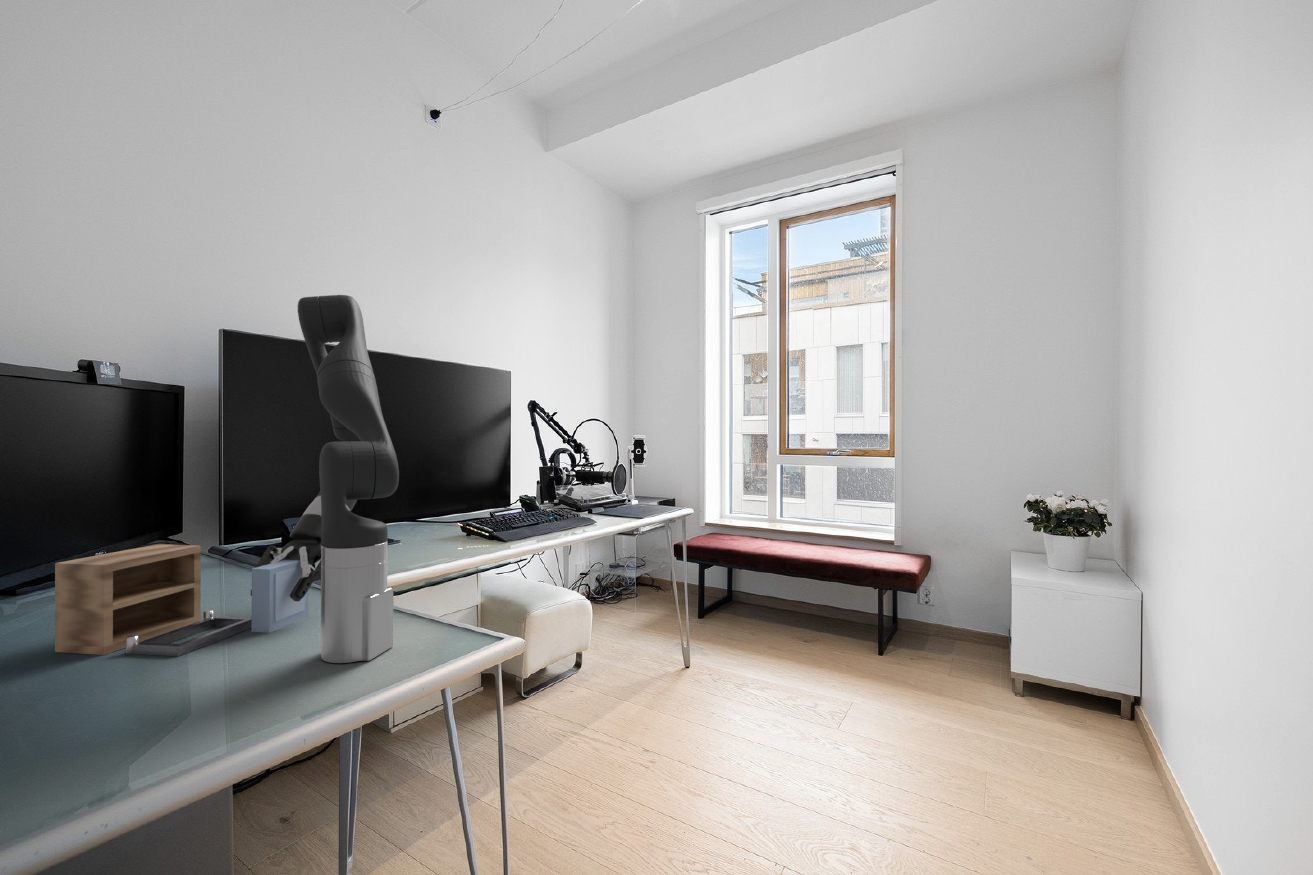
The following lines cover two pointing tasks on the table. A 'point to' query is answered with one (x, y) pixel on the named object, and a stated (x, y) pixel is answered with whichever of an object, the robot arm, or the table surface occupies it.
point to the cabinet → (125, 597)
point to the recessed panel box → (276, 596)
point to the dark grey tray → (162, 642)
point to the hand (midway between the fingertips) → (274, 598)
